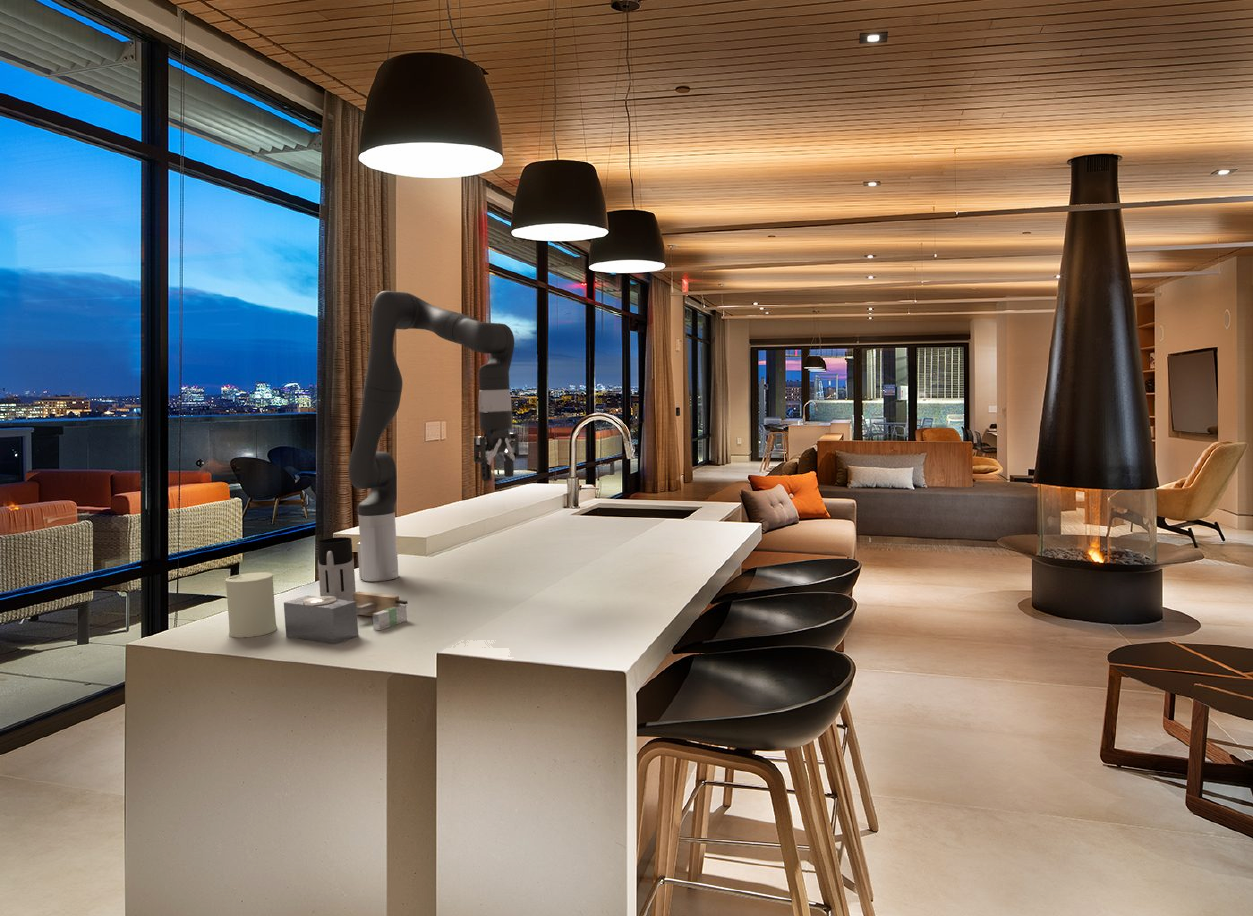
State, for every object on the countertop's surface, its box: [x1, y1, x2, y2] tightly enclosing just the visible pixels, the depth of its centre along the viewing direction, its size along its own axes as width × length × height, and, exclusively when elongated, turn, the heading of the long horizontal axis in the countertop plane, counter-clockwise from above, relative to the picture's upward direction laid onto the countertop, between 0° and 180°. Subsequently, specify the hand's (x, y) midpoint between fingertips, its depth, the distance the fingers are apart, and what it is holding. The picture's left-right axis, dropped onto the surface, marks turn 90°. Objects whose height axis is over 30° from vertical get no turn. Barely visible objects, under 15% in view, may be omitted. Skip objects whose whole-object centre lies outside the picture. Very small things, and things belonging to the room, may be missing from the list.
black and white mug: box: [317, 536, 357, 601], centre depth 196 cm, size 9×14×15 cm, turn 10°
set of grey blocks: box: [283, 595, 408, 645], centre depth 177 cm, size 15×19×7 cm
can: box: [224, 571, 278, 639], centre depth 178 cm, size 9×9×12 cm
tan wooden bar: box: [353, 591, 408, 617], centre depth 183 cm, size 15×6×5 cm, turn 61°
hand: (498, 478), depth 201 cm, fingers open, 8 cm apart
